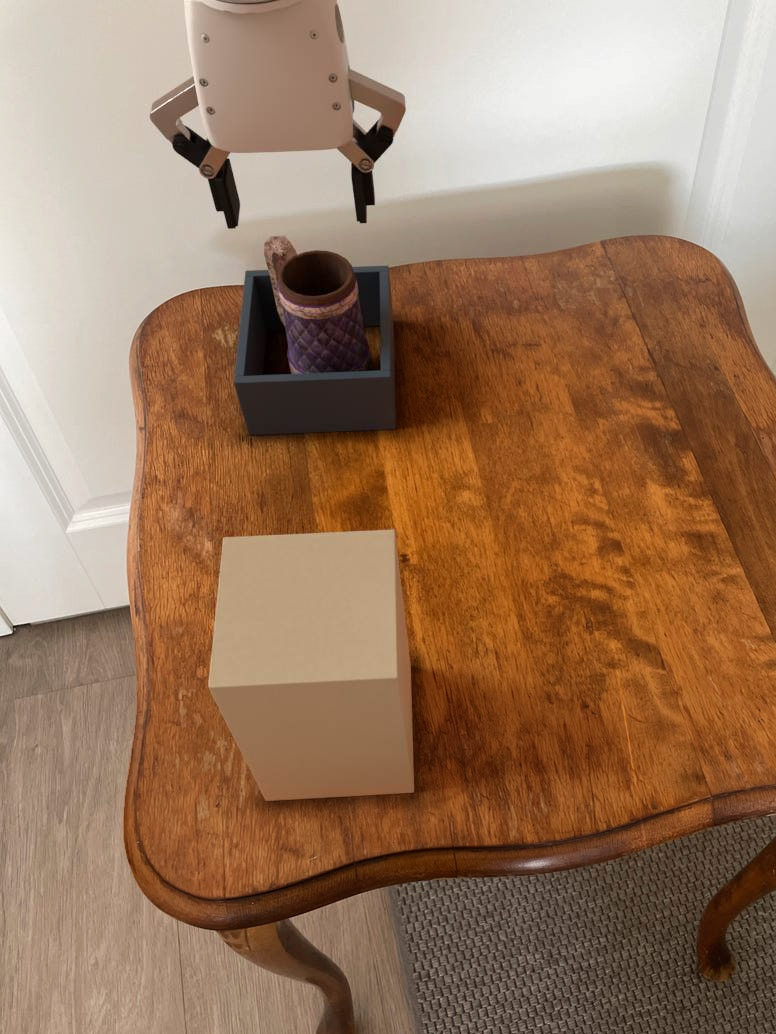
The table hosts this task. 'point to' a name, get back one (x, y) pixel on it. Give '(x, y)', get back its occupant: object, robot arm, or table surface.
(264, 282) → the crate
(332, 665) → the block
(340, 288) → the mug
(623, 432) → the table surface
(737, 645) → the table surface
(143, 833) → the table surface
